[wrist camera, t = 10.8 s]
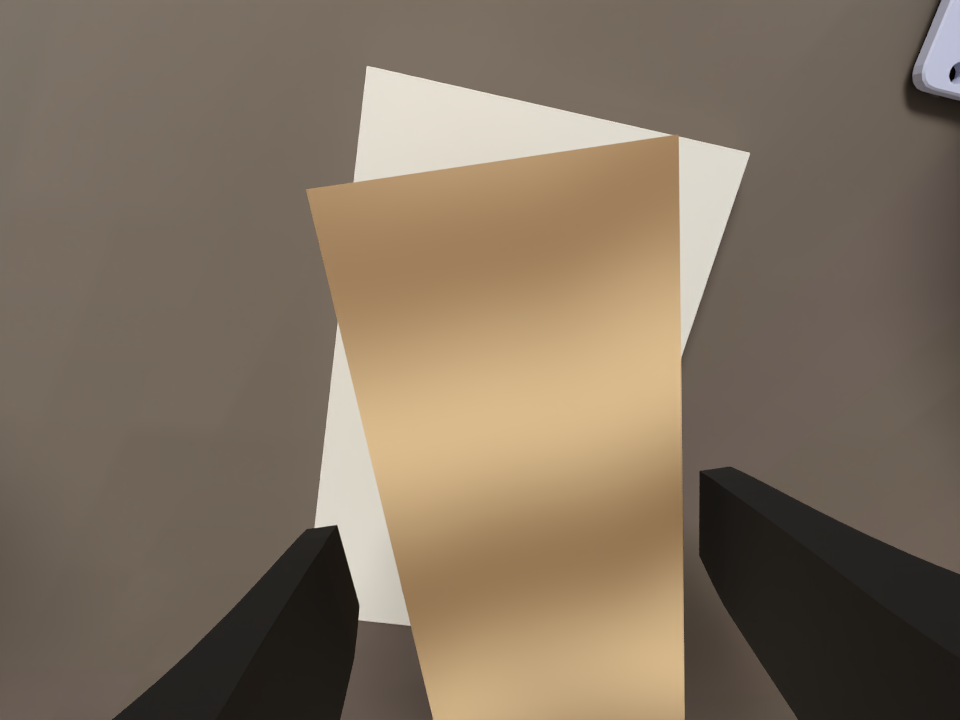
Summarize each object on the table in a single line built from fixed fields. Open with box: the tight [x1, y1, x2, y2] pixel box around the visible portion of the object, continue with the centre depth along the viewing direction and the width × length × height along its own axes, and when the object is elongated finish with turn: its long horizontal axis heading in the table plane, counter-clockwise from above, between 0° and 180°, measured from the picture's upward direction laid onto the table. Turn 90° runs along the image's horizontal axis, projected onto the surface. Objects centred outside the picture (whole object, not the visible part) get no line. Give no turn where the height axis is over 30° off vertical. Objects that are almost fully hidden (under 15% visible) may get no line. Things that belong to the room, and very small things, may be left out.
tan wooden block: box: [306, 134, 685, 720], centre depth 12 cm, size 14×5×5 cm, turn 8°
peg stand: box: [315, 66, 750, 626], centre depth 15 cm, size 10×17×3 cm, turn 169°
